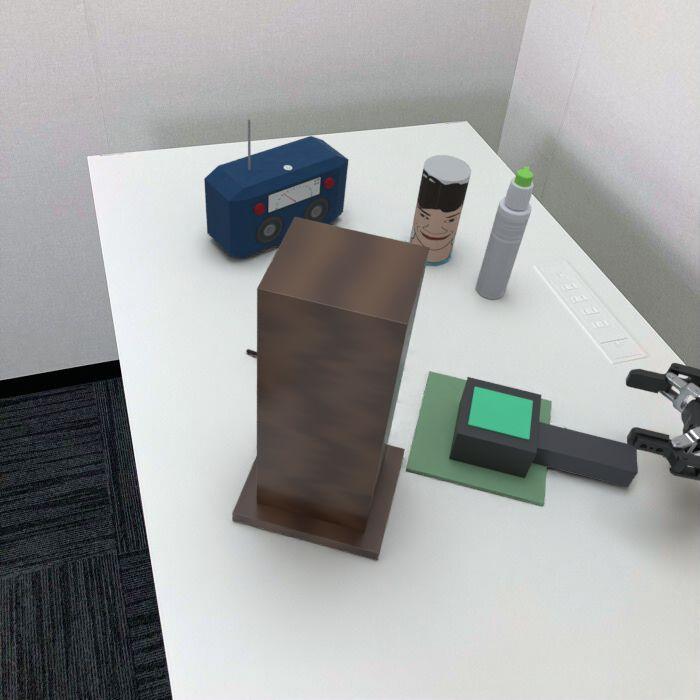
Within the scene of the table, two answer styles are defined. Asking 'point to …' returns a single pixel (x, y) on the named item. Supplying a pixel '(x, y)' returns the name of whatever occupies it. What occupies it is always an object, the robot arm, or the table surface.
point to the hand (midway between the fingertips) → (628, 405)
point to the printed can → (440, 206)
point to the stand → (330, 385)
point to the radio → (273, 194)
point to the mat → (437, 441)
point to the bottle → (506, 236)
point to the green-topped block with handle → (530, 438)
